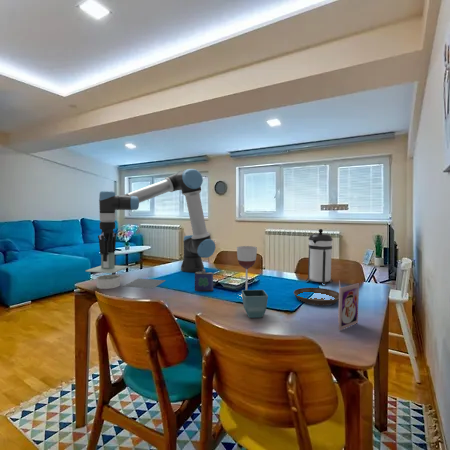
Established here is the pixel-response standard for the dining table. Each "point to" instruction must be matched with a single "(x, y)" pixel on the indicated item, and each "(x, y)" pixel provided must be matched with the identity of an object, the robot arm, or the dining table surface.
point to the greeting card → (348, 305)
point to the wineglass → (246, 258)
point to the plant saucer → (315, 300)
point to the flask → (203, 281)
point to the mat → (144, 283)
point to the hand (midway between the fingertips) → (108, 266)
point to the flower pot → (254, 302)
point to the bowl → (108, 281)
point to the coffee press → (320, 257)
